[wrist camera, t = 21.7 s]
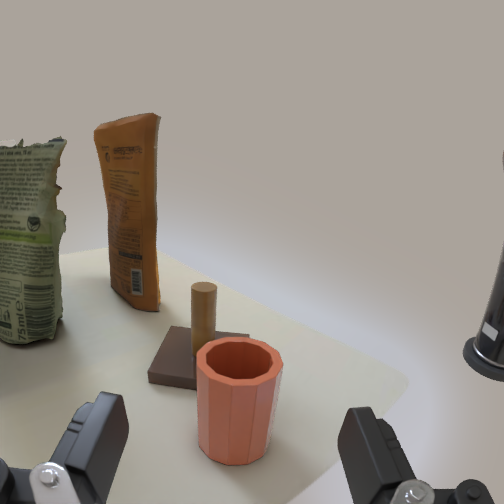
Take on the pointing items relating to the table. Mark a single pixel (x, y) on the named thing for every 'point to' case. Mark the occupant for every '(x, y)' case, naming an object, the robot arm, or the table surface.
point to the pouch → (30, 241)
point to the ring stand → (188, 341)
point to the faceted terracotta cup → (237, 398)
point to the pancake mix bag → (131, 205)
